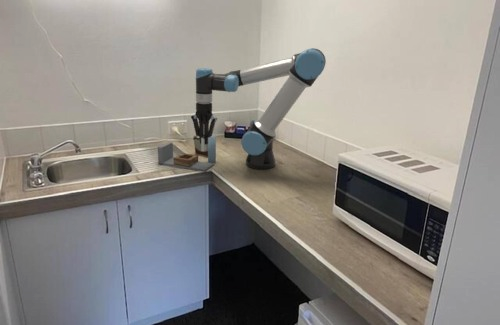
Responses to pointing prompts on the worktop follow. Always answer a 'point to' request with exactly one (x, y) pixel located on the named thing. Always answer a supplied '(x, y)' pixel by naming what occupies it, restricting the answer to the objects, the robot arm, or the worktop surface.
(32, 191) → the worktop surface
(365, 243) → the worktop surface
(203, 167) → the board
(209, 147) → the dowel
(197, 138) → the food container
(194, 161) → the socket block
